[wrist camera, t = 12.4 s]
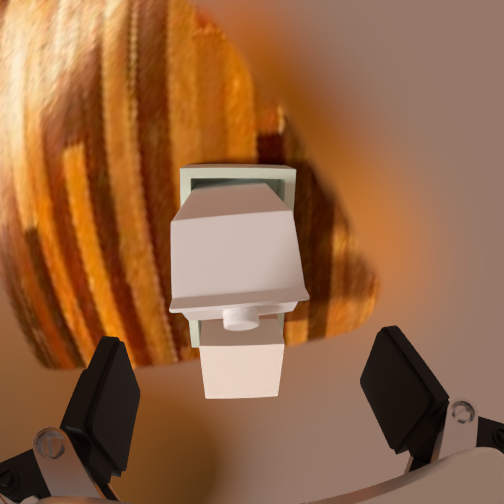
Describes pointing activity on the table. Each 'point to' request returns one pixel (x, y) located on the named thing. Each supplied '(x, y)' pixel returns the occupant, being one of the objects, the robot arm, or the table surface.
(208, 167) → the crate
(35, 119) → the table surface
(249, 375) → the oat carton
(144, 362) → the table surface
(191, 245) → the milk carton
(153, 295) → the table surface
